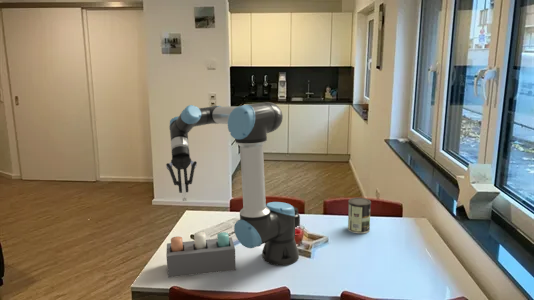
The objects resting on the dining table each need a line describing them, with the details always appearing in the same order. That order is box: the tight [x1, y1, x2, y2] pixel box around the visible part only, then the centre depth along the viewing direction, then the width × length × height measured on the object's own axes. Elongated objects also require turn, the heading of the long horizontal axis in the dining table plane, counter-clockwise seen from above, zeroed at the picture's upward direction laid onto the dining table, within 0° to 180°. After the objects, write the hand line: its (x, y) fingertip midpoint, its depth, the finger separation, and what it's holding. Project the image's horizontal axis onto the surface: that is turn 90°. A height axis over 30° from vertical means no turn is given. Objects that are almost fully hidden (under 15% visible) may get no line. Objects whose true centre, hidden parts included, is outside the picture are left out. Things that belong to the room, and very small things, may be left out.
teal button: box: [216, 231, 230, 248], centre depth 178 cm, size 4×4×6 cm
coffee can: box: [347, 197, 372, 234], centre depth 211 cm, size 10×10×14 cm
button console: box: [165, 237, 237, 278], centre depth 178 cm, size 26×11×9 cm, turn 101°
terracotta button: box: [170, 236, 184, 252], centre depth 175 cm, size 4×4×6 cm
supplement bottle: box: [293, 206, 301, 227], centre depth 208 cm, size 7×7×12 cm
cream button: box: [193, 231, 207, 250], centre depth 176 cm, size 4×4×6 cm
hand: (184, 199), depth 182 cm, fingers closed
